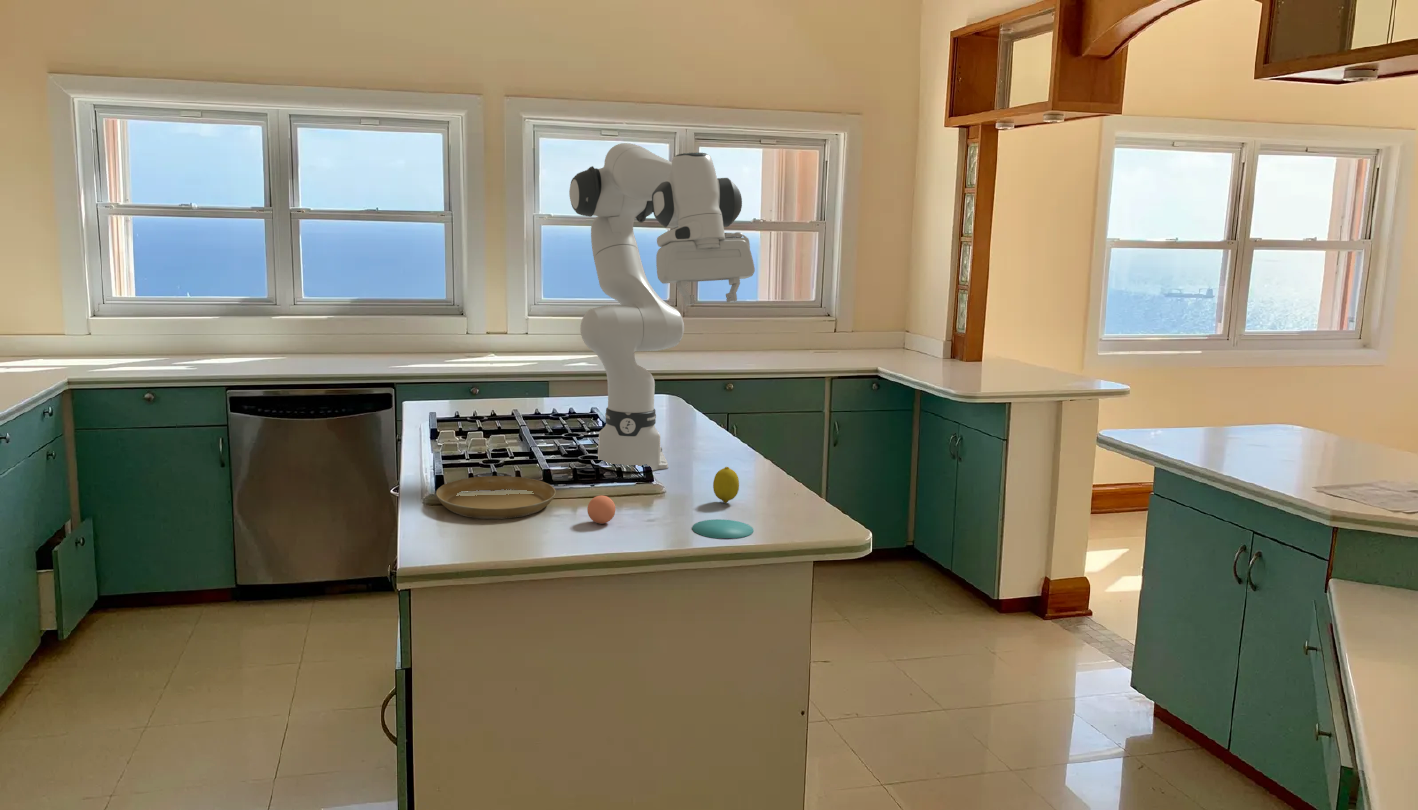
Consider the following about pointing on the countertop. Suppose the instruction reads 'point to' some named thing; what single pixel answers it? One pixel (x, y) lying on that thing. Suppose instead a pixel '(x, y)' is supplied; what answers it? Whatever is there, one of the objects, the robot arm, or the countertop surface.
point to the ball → (601, 509)
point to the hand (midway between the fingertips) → (711, 303)
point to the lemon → (726, 484)
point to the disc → (722, 529)
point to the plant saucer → (496, 497)
